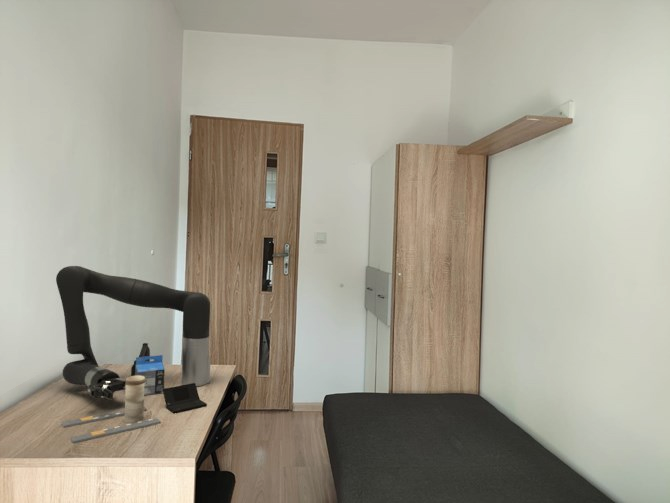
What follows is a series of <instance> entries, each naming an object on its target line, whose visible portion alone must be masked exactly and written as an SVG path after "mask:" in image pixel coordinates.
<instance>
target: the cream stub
mask: <svg viewBox="0 0 670 503" xmlns="http://www.w3.org/2000/svg"><path fill="white" fill-rule="evenodd" d="M125 379H126V385H125V389H126V392H125V395H124V397H125V398H124V410H125V415H124V422H127V423H137V422H140V421H143V420H144V412H145V411H144V407H145V395H144V384H145V377H144V376H140V375H136V376H131V375H130V376H128V377H126V378H125Z"/></svg>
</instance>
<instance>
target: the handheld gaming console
mask: <svg viewBox="0 0 670 503" xmlns="http://www.w3.org/2000/svg"><path fill="white" fill-rule="evenodd" d="M162 394H163V397H164V402H165V405H166V407H165V409H166V410H168V411H170V412H171V413H172V414H174V415H175V413H176V414H179V413H184V412H188V411H193V410H197V409H201V408H206V407H207V405H208V404H207V402H205V401H203V400H201V398H200V395H199V392H198V388H197V386H196V384H195V383H191V384H186V385H182V384H181V385H177V386H171V387H167V388H165V387H164V389H163V393H162Z"/></svg>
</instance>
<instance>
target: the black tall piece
mask: <svg viewBox="0 0 670 503" xmlns="http://www.w3.org/2000/svg"><path fill="white" fill-rule="evenodd" d="M150 351H151V350H150V347H149V343H147V342H143V343H142V347H141V349H140V352H139V355H138V357H146V356H151V352H150ZM147 361H151V359H148V360H145V362H147ZM135 366H136V359H135V360H134V361H133V365H132V366H131V368H130V369H131V371H130V376H135Z"/></svg>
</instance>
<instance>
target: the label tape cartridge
mask: <svg viewBox="0 0 670 503" xmlns="http://www.w3.org/2000/svg"><path fill="white" fill-rule="evenodd" d="M163 358H164V357H163V354H161V355H159V354H158V355H150V356H146V357H139V356H136V357H135V360H136V366H135V376H136V375H140V376H144V377H145V384H144V396H149V395H155V394H163V389H165V373H166V372H165V366H164V362H163ZM148 359H150V361H147V362H145V360H148Z"/></svg>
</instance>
